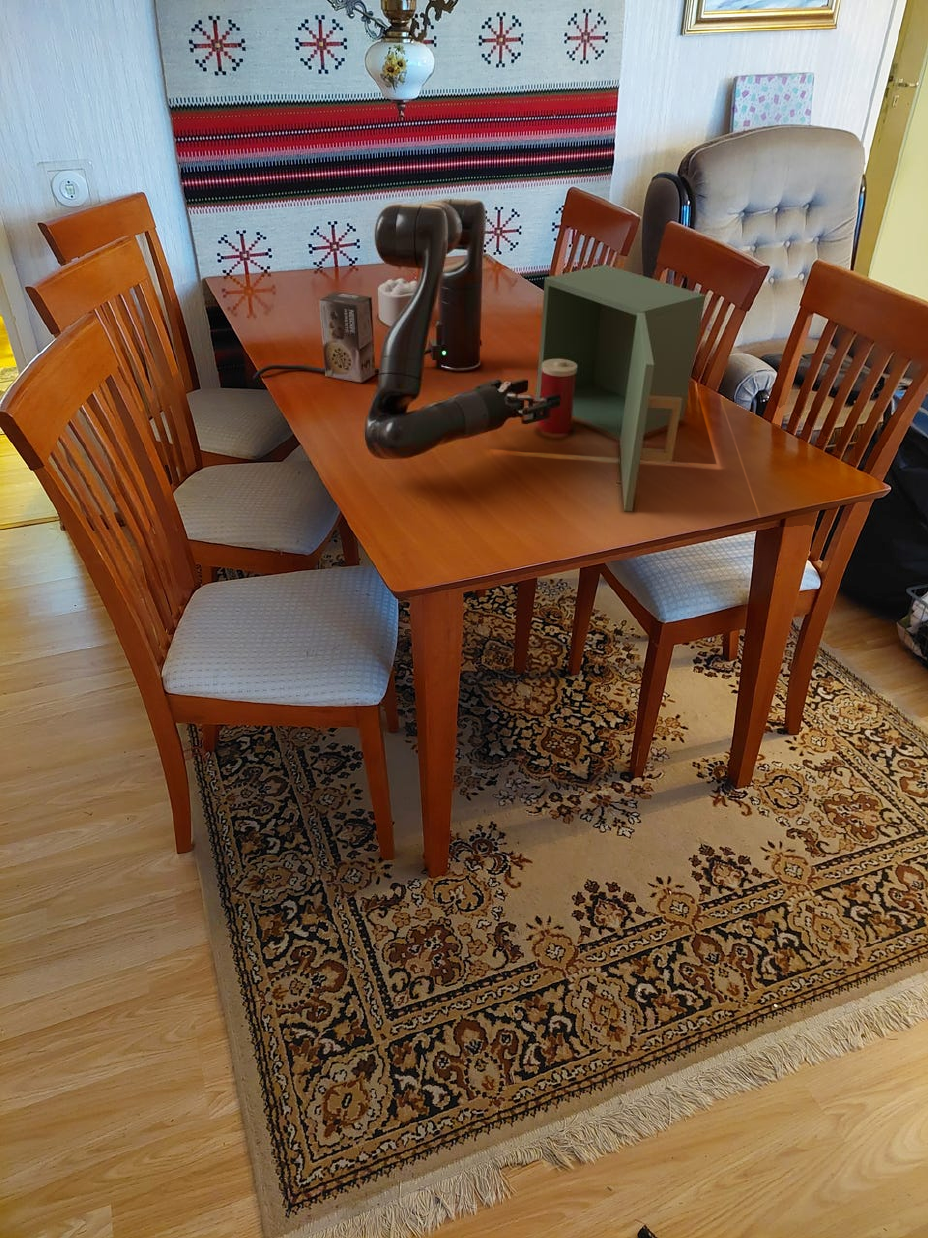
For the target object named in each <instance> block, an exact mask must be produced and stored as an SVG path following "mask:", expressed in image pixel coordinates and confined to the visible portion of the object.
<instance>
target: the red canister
mask: <svg viewBox="0 0 928 1238" xmlns="http://www.w3.org/2000/svg"><path fill="white" fill-rule="evenodd" d="M577 368H578V366H577V364H576V363H575V362H573V361H570V360H566V359H549V360H546V361H544V362H543V363H542V377H541V390H540V398H544V397H547V396H550V395H554V394H559V395H561V401H560V406H559V407H556V408H553V409H551V411H550V418H547V419H543V420H540V421H537V428H538V429H539V430H540V431H542V432H544V433H547V434H553V435H554V434H555V435H556V434H564V433H568V432H569V431H570V430H571V429H572V421H573V415H572V412H573V402H574V392H575V382H576V372H577Z"/></svg>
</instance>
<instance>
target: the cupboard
mask: <svg viewBox="0 0 928 1238" xmlns="http://www.w3.org/2000/svg"><path fill="white" fill-rule="evenodd" d="M543 287H544V288H543V300H542V312H541V313H542V314H541V328H540V341H539V355H538V357H539V358H538V369H537V383H536V384H537V385H536V395H535V396H536V397H535V398H540V390H541V377H542V363H543V362H544V361H546V360H549V359H566V360H570V361H573V362H575V363H576V364H577V366H578V368H577V372H576V382H575V392H574V402H573V412H572V417H575V418H578V419H580V420H582V421H584V422H587V423H589V424H591V425H593V426H594V427H597V428H599V429H601V430H603V431H606V432H608V433H610V434H612V435H615V436H616V437H618V438H621V431H622V423H623V416H624V408H625V401H626V394H627V386H628V379H629V372H630V364H631V357H632V350H633V342H634V335H635V327H636V320H637V313H645V318H646V323H647V329H648V334H649V339H650V345H651V350H652V356H653V361H654V370H653V376H652V383H651V389H650V395H652V396H668V397H680V398H682V405H681V410H680V416H679V422H680V421H683V420H684V418H685V413H686V406H687V403H688V402H687V401H688V397H689V391H690V386H691V385H690V384H691V380H692V374H693V368H694V362H695V358H696V352H697V347H698V341H699V340H698V339H699V334H700V328H701V323H702V318H703V312H704V306H705V301H706V294H703V293H700V292H696V291H694V290H691V289H687V288H684V287H681V286H676V285H674V284H671V283H668V282H664V281H660V280H657V279H654V278H650V277H647V276H644V275H641V274H637V273H634V272H631V271H628V270H624V269H622V268H617V267H615V266H611V265H608V264H603V265H598V266H592V267H589V268H583V269H578V270H574V271H570V272H564V273H560V274H556V275H550V276H545V277H544V286H543ZM670 413H671V409H666V408H650V407H648V409H647V416H646V422H645V429H644V435H645V434H647V433H650V432H653V431H656V430H658V429H661V428H663V427H666V426H667V427H668V425H669V419H670Z"/></svg>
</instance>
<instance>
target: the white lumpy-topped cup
mask: <svg viewBox="0 0 928 1238" xmlns="http://www.w3.org/2000/svg"><path fill="white" fill-rule="evenodd" d="M418 283H419V281H417V280H411V281H410V282H408V281H406V279H405V278H402V277H399V278H397V279H395V280H394V279H392V278H390V279H387V281H385V282H383V283H381V284H379V286H378V288H377V302H378V319H379V320H380V321H381V322H382V323H383V324H385V325H387V326H389V327H391V326H392V324H393V323H394V321H395V320H396V319H397V317H398V316H399V315H400V313H401V312H402V311H403V309H404V308H405V306H406V305H407V304H408V302H409V301H410V299H411V297H412V296H413V294H414V292H415V290H416V288H417V286H418Z"/></svg>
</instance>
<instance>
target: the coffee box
mask: <svg viewBox="0 0 928 1238" xmlns="http://www.w3.org/2000/svg"><path fill="white" fill-rule="evenodd" d="M318 306H319V317H320V327H321V340H322V349H323V363H324V369H325V373H324V376H325V377H326V378H332V379H338V380H343V381H348V382H354V383H360V384H362V383H364V382H365V381H367V380H368V379H370V378H372V377H373V376H375V375H376V373H375V369H376V362H375V361H376V360H375V359H376V357H375V339H374V319H373V318H374V317H373V316H374V315H373V297H372V296H366V295H360V294H355V293H354V294H353V293H347V292H340V291H333V292H330V293H329V294H327V295H325V296H323V297H322V298H319V299H318Z"/></svg>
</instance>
